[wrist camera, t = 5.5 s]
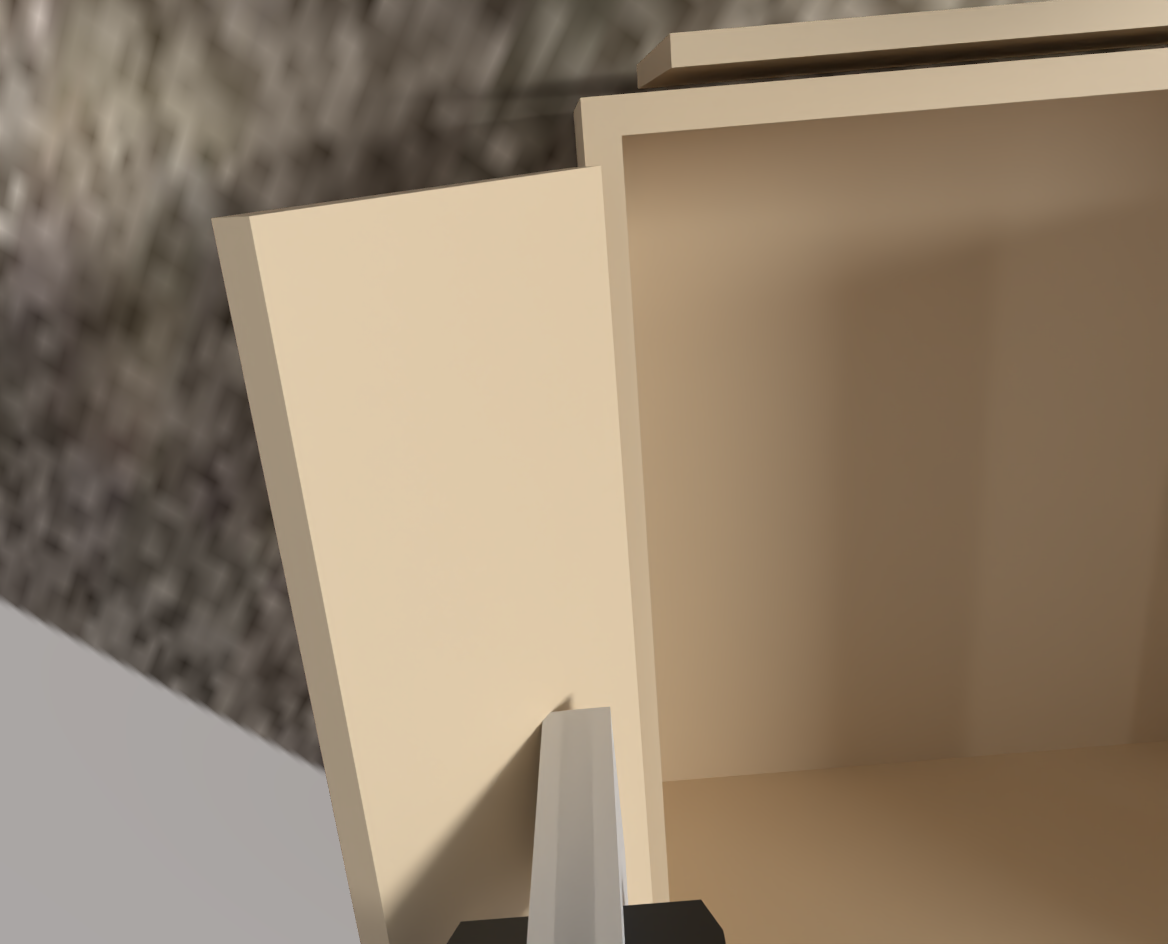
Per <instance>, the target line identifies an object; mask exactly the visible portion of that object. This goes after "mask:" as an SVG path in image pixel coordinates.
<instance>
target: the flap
mask: <svg viewBox="0 0 1168 944" xmlns="http://www.w3.org/2000/svg"><path fill="white" fill-rule="evenodd" d="M211 221H212V226H213V230H214V235H215V240H216V245H217V250H218V255H219V259H220V264H221V269H222V274H223V279H224V284H225V288H226V293H227V298H228V303H229V308H230V313H231V318H232V322H233V327H234V332H235V337H236V342H237V347H238V351H239V356H240V361H241V366H242V371H243V376H244V381H245V385H246V390H247V395H248V400H249V405H250V410H251V414H252V419H253V424H254V429H255V434H256V439H257V444H258V448H259V453H260V458H261V463H262V468H263V473H264V477H265V482H266V487H267V492H268V497H269V502H270V507H271V511H272V516H273V521H274V526H275V531H276V536H277V540H278V545H279V550H280V555H281V560H282V565H283V569H284V574H285V579H286V584H287V589H288V594H289V599H290V603H291V608H292V613H293V618H294V623H295V628H296V632H297V637H298V642H299V647H300V652H301V657H302V662H303V666H304V671H305V676H306V681H307V686H308V691H309V695H310V700H311V705H312V710H313V715H314V720H315V725H316V729H317V734H318V739H319V744H320V749H321V754H322V758H323V763H324V768H325V773H326V778H327V783H328V787H329V792H330V797H331V802H332V806H333V812H334V817H335V821H336V826H337V831H338V835H339V841H340V845H341V850H342V855H343V860H344V865H345V870H346V874H347V879H348V884H349V889H350V894H351V899H352V903H353V909H354V913H355V918H356V923H357V928H358V932H359V937H360V942H361V944H447V942H448V941H449V939H450V937H451V936H452V934H453V933H454V931H455V930H456V928H457V927H458V925H459V923H460V922H462V921H474V920H487V919H500V918H513V917H525V916H529V904H530V890H531V876H532V862H533V848H534V834H535V820H536V805H537V791H538V777H539V763H540V749H541V735H542V721H543V720H544V719H545V718H546V717H547V716H548V714H549V713H550V712H555V711H564V710H576V709H587V708H599V707H610V710H611V720H612V729H613V739H614V749H615V759H616V768H617V778H618V788H619V797H620V807H621V817H622V827H623V836H624V846H625V860H626V876H627V892H628V905H638V904H650V903H653V898H652V884H651V870H650V856H649V841H648V827H647V813H646V799H645V784H644V770H643V756H642V742H641V727H640V713H639V699H638V685H637V671H636V656H635V642H634V628H633V614H632V599H631V585H630V571H629V557H628V542H627V528H626V514H625V500H624V486H623V471H622V457H621V443H620V429H619V414H618V400H617V386H616V372H615V357H614V343H613V329H612V315H611V300H610V286H609V272H608V258H607V244H606V229H605V215H604V201H603V187H602V172H601V166H586V167H572V168H565V169H557V170H550V171H543V172H536V173H529V174H522V175H515V176H508V177H500V178H493V179H486V180H479V181H472V182H465V183H458V184H451V185H444V186H436V187H429V188H422V189H415V190H408V191H401V192H394V193H387V194H379V195H372V196H365V197H358V198H351V199H344V200H337V201H330V202H322V203H315V204H308V205H301V206H294V207H287V208H280V209H273V210H266V211H258V212H251V213H244V214H237V215H230V216H223V217H216V218H211Z"/></svg>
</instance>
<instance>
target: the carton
mask: <svg viewBox="0 0 1168 944" xmlns="http://www.w3.org/2000/svg"><path fill="white" fill-rule="evenodd" d="M1160 44H1168V0H1054V1H1042V2H1031V3H1019V4H1007V5H995V6H984V7H972V8H960V9H949V10H937V11H925V12H914V13H902V14H890V15H878V16H867V17H855V18H843V19H832V20H820V21H808V22H796V23H785V24H773V25H761V26H750V27H738V28H726V29H715V30H703V31H691V32H679V33H670V34H669V35H668V36H667V37H666V38H665V39H664V40H663V41H662V42H661V43H659V44H658V45H657V46H656V47H655V48H654V49H653V50H652V51H651V52H650V53H649V54H648V55H647V56H646V57H645V58H644V59H643V60H642V61H641V62H640V63H639V64H638V65H637V80H638V89H643V88H655V87H667V86H679V85H690V84H702V83H714V82H726V81H737V80H749V79H761V78H773V77H784V76H796V75H808V74H820V73H831V72H843V71H855V70H867V69H878V68H890V67H902V66H914V65H925V64H937V63H949V62H961V61H972V60H984V59H996V58H1008V57H1019V56H1031V55H1043V54H1055V53H1066V52H1078V51H1090V50H1102V49H1113V48H1125V47H1137V46H1149V45H1160ZM573 114H574V127H575V140H576V153H577V166H578V167H586V166H601V172H602V187H603V201H604V215H605V229H606V244H607V258H608V272H609V286H610V300H611V315H612V329H613V343H614V357H615V372H616V386H617V400H618V414H619V429H620V443H621V457H622V471H623V486H624V500H625V514H626V528H627V542H628V557H629V571H630V585H631V599H632V614H633V628H634V642H635V656H636V671H637V685H638V699H639V713H640V727H641V742H642V756H643V770H644V784H645V799H646V813H647V827H648V841H649V856H650V870H651V884H652V898H653V903H663V902H675V901H688V900H700V899H701V900H702V901H703V903H704V904H705V905H706V907H707V908H708V910H709V911H710V912H711V914H712V915H713V917H714V918H715V919H716V921H717V922H718V924H719V925H720V926H721V928H722V929H723V931H724V936H725V942H726V944H1168V48H1159V49H1147V50H1135V51H1124V52H1112V53H1100V54H1088V55H1077V56H1065V57H1053V58H1041V59H1030V60H1018V61H1006V62H994V63H983V64H971V65H959V66H947V67H936V68H924V69H912V70H900V71H888V72H877V73H865V74H853V75H841V76H830V77H818V78H806V79H794V80H783V81H771V82H759V83H747V84H736V85H724V86H712V87H700V88H689V89H677V90H665V91H653V92H642V93H630V94H618V95H606V96H595V97H583V98H580V99H579V102H578V104H577V106H576V108H575V110H574V112H573Z"/></svg>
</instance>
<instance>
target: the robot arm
mask: <svg viewBox="0 0 1168 944" xmlns="http://www.w3.org/2000/svg"><path fill="white" fill-rule="evenodd" d="M447 944H726V942H725V936H724V931H723V929H722V928H721V926H720V925H719V924H718V922H717V921H716V919H715V918H714V917H713V915H712V914H711V912H710V911H709V910H708V908H707V907H706V905H705V904H704V903H703V901H702V900H701V899H700V900H688V901H675V902H663V903H650V904H638V905H628V892H627V876H626V860H625V846H624V836H623V827H622V817H621V807H620V797H619V788H618V778H617V768H616V759H615V749H614V739H613V729H612V720H611V710H610V707H599V708H587V709H576V710H564V711H555V712H550V713H549V714H548V716H547V717H546V718H545V719H544V720H543V721H542V735H541V749H540V763H539V777H538V791H537V805H536V820H535V834H534V848H533V862H532V876H531V890H530V904H529V916H525V917H513V918H500V919H487V920H474V921H462V922H460V923H459V925H458V927H457V928H456V930H455V931H454V933H453V934H452V936H451V937H450V939H449V941H448V942H447Z"/></svg>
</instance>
